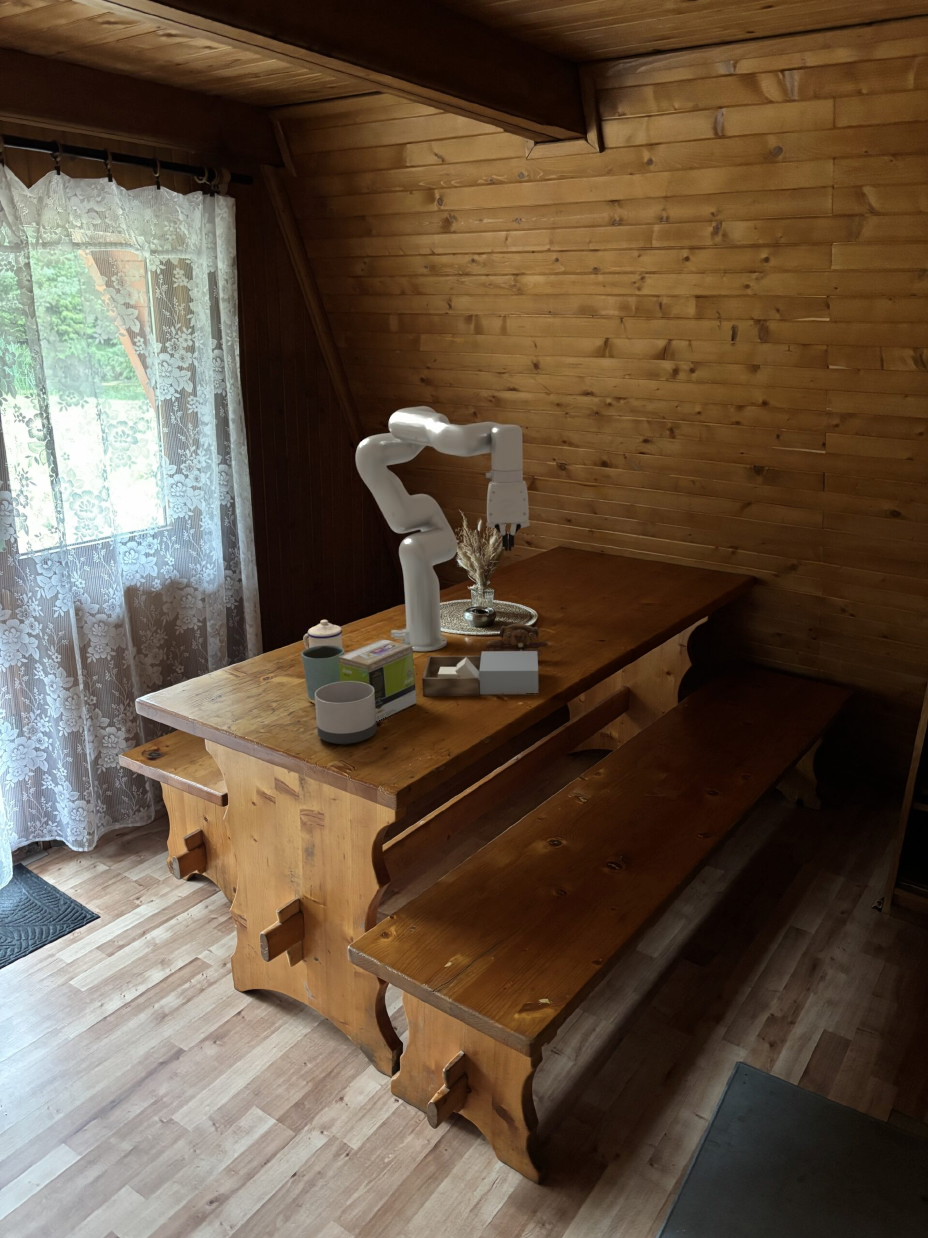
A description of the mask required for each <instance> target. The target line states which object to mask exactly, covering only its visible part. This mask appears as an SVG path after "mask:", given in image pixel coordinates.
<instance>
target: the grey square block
mask: <svg viewBox="0 0 928 1238" xmlns="http://www.w3.org/2000/svg"><path fill="white" fill-rule="evenodd" d="M480 656H481V662H480V670H479V673H480V688H479V695H527V694H526V693H538V694H539V663H538V661H539V657H537V651H489V650H488V651H487V650H486V651H484V650H483V651H481V655H480ZM502 693H504V694H502ZM517 693H519V694H517Z"/></svg>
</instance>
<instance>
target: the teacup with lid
mask: <svg viewBox="0 0 928 1238" xmlns="http://www.w3.org/2000/svg"><path fill="white" fill-rule="evenodd" d="M342 633H343V630H342V627H341V626H340V625H336V624H332V623H330V622H329V620H327V619H322V620H320V623H318V624H317V625H315V626H312V627H311V628H309V629H308V631H307V633H305V634H304V635H303V638H302V639H303V645H304V646H305V649H308V648H311V647H315V646H322V645H333V646H339V647H341V648H343V636H342Z"/></svg>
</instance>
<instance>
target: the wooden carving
mask: <svg viewBox="0 0 928 1238" xmlns="http://www.w3.org/2000/svg"><path fill="white" fill-rule="evenodd" d="M539 636H540V632H539V628H538V627H537V626H536V627H532V626H530V625H528V624H524V623H513V624H509V625H507V626H505V625H502V626H501V629H500V630H499V637H500V638H501V639H492V640H490V641H488V642H486V645H485V647H486V649H488V651H537V657H538V658H539V657H540V656H542V655H543V651H542V650H541V649H540V648H545V647H548V646H549V644H550V643H549V642H548V641H540V639H539Z"/></svg>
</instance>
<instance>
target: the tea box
mask: <svg viewBox="0 0 928 1238" xmlns="http://www.w3.org/2000/svg"><path fill="white" fill-rule="evenodd" d="M339 669H340V680H341V682H344V681H356V682H363V683H367V684H369V685H371V686H372V687H373V688H374V690H375V707H376V721H377V722H380V721H382V720H384V719H386V718H388V717H389V716H392V715H394V714H395V713H398V712H400V711H403V710H404V709H407V708H409V707H410V706H412V705H415V704H417V701H418V700H417V690H416V673H415V662H414V651H413V648H412V646H410V645H406V644H402V642H401V643H400V642H396V641H392V640H387V639H384V638H381V639H379V640H377V641H375V642H372V643H370V644H367V645H364V646H362V647H358V648H357V649H354V650H352V651H350V652H349V651H348V652H346V653H344V655H342V656H339ZM385 717H386V718H385ZM383 718H384V719H383ZM381 719H382V720H381ZM379 720H380V721H379Z"/></svg>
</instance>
